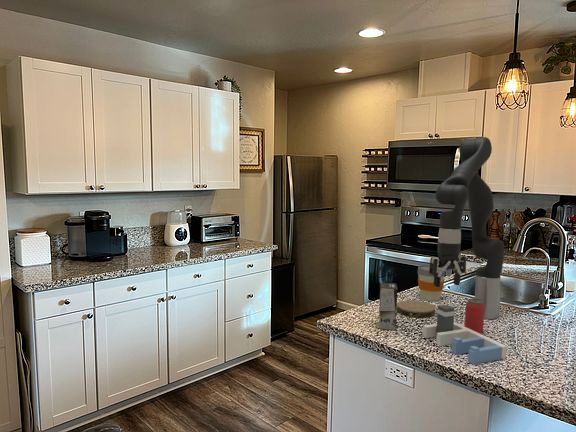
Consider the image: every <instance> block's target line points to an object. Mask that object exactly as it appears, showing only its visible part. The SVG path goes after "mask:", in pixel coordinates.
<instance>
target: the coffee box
mask: <svg viewBox="0 0 576 432" xmlns="http://www.w3.org/2000/svg"><path fill="white" fill-rule="evenodd" d="M379 284H380V285H379V310H378V311H379V314H378V315H379V316H378V319H379V320H378V327H379V329H381V330H391V331H396V330H397V329H396V328H397V313H398V312H397V303H398V285H397V283H393V282H379Z"/></svg>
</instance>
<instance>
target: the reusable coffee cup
mask: <svg viewBox="0 0 576 432" xmlns="http://www.w3.org/2000/svg"><path fill="white" fill-rule="evenodd" d="M429 268H430V264H422V265H419V266H418V268H417V275H418V276H417V277H418V278H417V284H418V288H419V298H420V299H421V300H423V301H426V302H439V301H441V297H442V291H443V290H444V286H445V285H444V284H445V276H446V270H445V271H444V272H443V273H442V274H441V276H440V277H441V281H440V287H436V286H435V285H434V275H431V274H429ZM440 268H441V267H440Z"/></svg>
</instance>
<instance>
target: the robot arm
mask: <svg viewBox="0 0 576 432" xmlns="http://www.w3.org/2000/svg"><path fill="white" fill-rule="evenodd" d="M492 149H493V148H492V142H491V140H490V138H488V137H487V136H480V137H472V138H466V139H462V140H461V141H460V143H459V148H458V151H459V157H460V162H461V163H460V164H458V165H457V166H456V167H455V168H454V170H453V172H452V173H451V174H450V176H449V177H448V178H446V179H444V181H442V182H441V184H439V185H438V187H437V188H436V192H435V199H436V201H437V202H438V203H439V204H442V205H452V206H454V207H453V209H452V210H447V211H442V212H441V213H440V216H439V228H438V229H439V231H438V237H437V255H438V256H437V257H436V258H435V257H430V259H429V260H430V261H429V265H430V268H429V274H431V275H434V285H435V286H436V287H440V281H441V277H440V276H441V274H442V273H443V272H444V271H445V272H446V270H447V271H448V270H452V271H453V285H455V286H460V284H461V275H463V274H466V273H467V272H466V271H467V269H466V268H467V257H466V256H462V255H461V243H462V216H463V213H464V210H465V206H466V204H467V202H468V208H469V215H470V222H471V240H472V243H471V244H472V250H473V255H475V257H476V258H479V259H482V260H486V264H485V265H484V266H479V267H477V268H476V270H475V285H474V299H480V300H482V301H483V303H484V307H485V310H484V320H496V319H497V318H498V317H500V316H501V315H500V314H501V313H500V311H501V294H500V284H501V283H500V282H501V273H502V271H503V267H504V258H505V257H504V256H505V245H504V244H505V243H504V242H503V241H502V240H501V239H499V238H495V237H494V238H493V237H488V235H487V224H488V221H489V219H490V217H491V216H492V213H493V211H494V197H493V193H492V192H493V191H492V190H491V188H490V186H489V185H488V184H487V183H486V182H485V180H484V179H482V177H481V176H480V175H479V173H478V171H479V170H480V169H481V168H482V167H483V166H484V165H485V163H487V161H488V160H489V158H490V157H491V155H492ZM440 267H441V268H440Z"/></svg>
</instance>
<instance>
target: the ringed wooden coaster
mask: <svg viewBox="0 0 576 432" xmlns="http://www.w3.org/2000/svg"><path fill="white" fill-rule="evenodd" d="M396 313H398V314H400V315H401V316H405V317H406V318H407V317H408V318H412V317H414V318H413V319H428V318H433V317H434V316H435V315H436V306H435V305H433V304H431V303H429V302H427V301H426V302H425V301H421V300H410V299H409V300H401V301H397V312H396Z"/></svg>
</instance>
